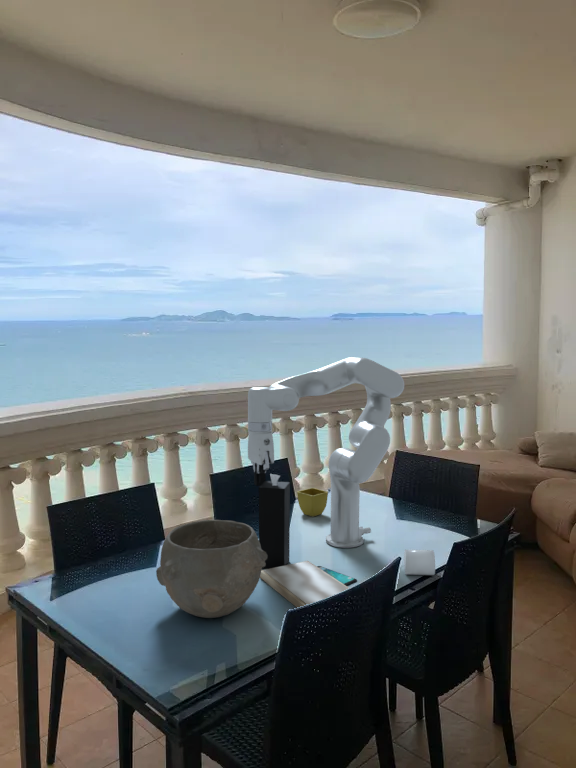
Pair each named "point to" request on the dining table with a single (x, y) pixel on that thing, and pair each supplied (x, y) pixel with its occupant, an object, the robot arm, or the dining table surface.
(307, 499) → the flower pot
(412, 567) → the white rounded cube
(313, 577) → the tray
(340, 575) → the smartphone
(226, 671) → the dining table surface
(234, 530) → the bowl
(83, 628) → the dining table surface
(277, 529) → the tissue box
